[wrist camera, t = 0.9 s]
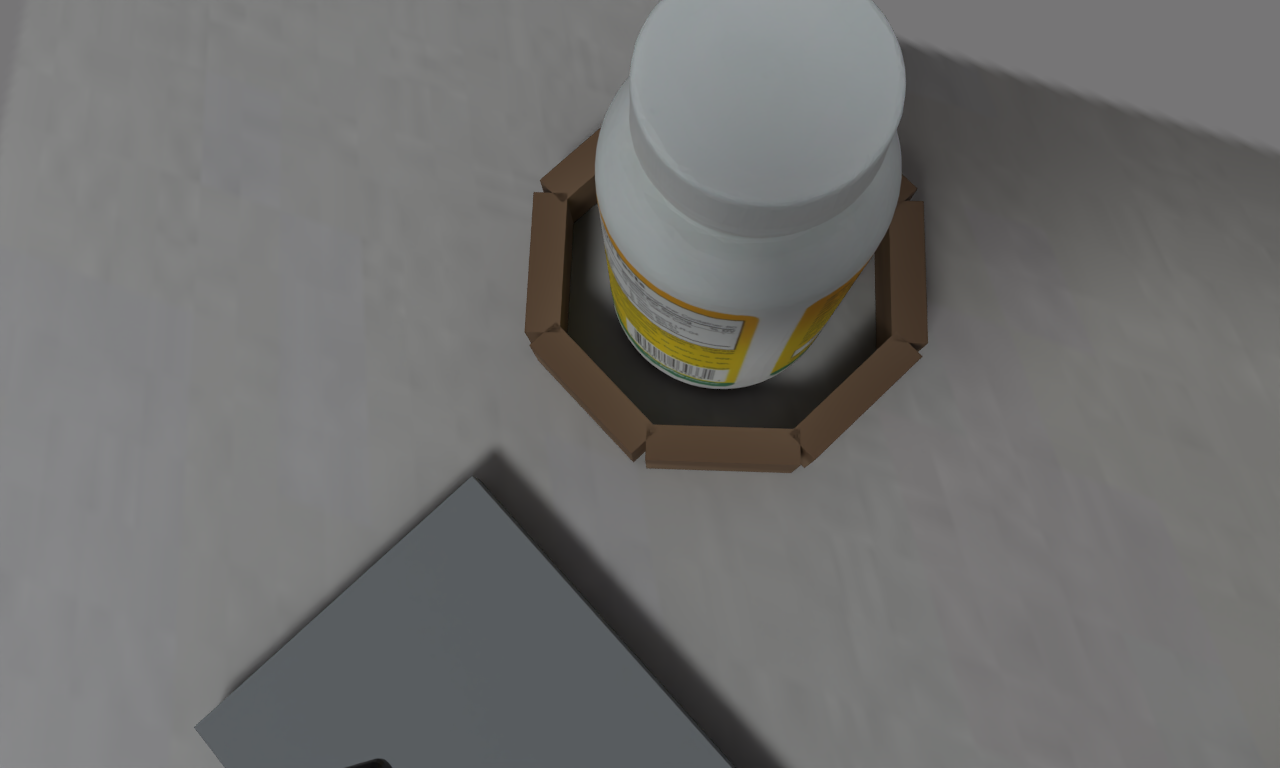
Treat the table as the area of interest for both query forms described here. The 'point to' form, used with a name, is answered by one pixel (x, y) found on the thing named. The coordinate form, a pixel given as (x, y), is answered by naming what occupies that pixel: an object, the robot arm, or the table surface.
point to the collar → (711, 445)
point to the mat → (458, 668)
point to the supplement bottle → (747, 178)
